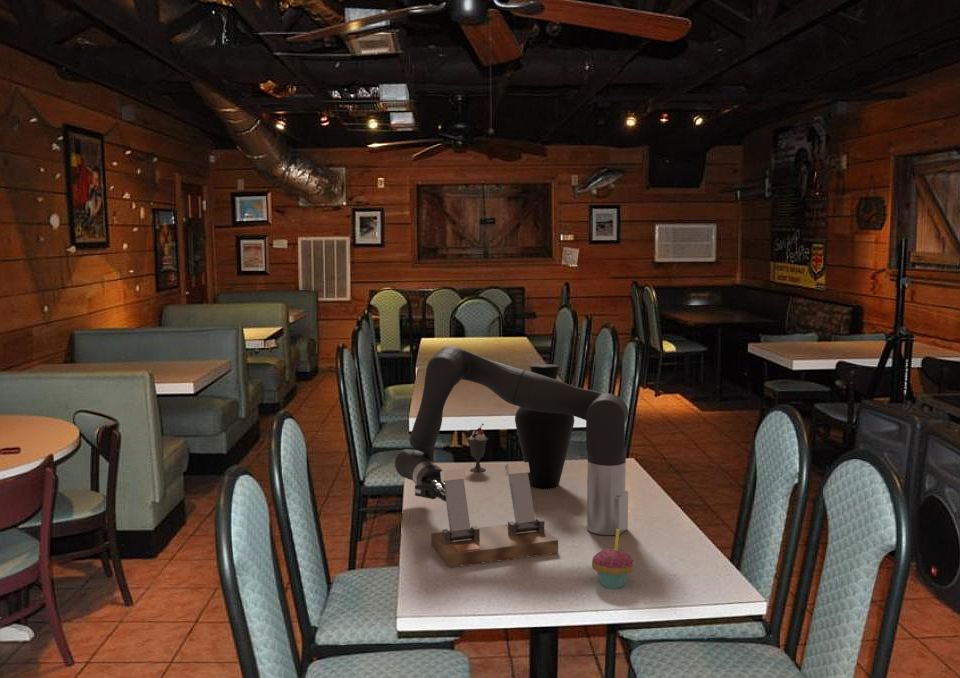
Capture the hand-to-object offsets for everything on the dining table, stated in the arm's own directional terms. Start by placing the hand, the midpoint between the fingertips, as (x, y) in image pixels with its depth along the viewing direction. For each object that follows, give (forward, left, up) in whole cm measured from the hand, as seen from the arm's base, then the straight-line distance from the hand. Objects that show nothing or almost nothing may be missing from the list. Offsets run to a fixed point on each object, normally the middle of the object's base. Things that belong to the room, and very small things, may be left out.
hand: (449, 498), depth 194 cm
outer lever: (-6, +4, -8) cm, 11 cm away
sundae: (+27, -57, -11) cm, 65 cm away
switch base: (-11, -2, -11) cm, 16 cm away
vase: (+2, -53, -11) cm, 55 cm away
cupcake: (-42, +3, -11) cm, 43 cm away
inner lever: (-16, -8, -8) cm, 20 cm away
